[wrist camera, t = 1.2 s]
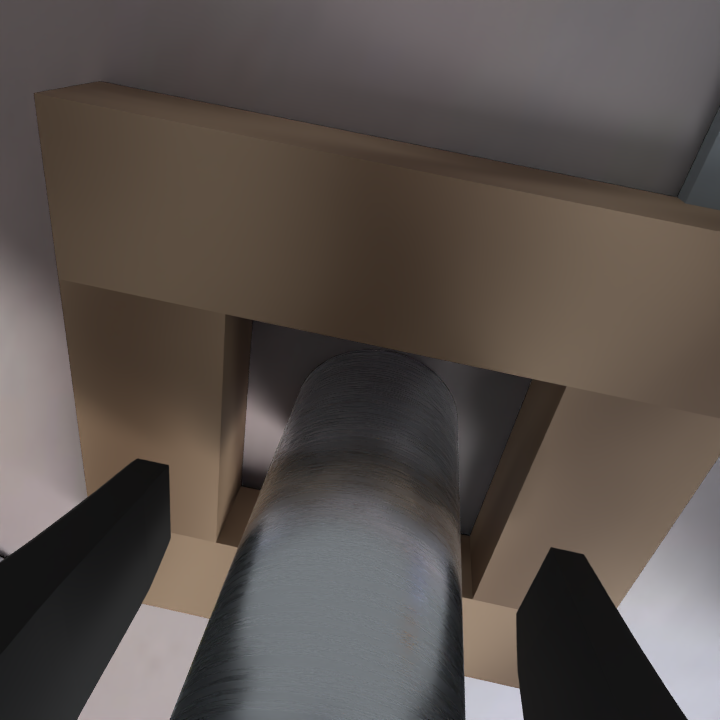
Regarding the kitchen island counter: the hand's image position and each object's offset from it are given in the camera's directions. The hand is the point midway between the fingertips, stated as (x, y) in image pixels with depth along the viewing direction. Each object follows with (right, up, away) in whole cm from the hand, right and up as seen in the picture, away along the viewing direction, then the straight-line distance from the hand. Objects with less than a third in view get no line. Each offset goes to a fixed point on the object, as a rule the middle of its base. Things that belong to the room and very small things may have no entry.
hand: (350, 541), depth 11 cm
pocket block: (+1, +2, +3) cm, 4 cm away
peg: (+1, +2, +3) cm, 4 cm away
